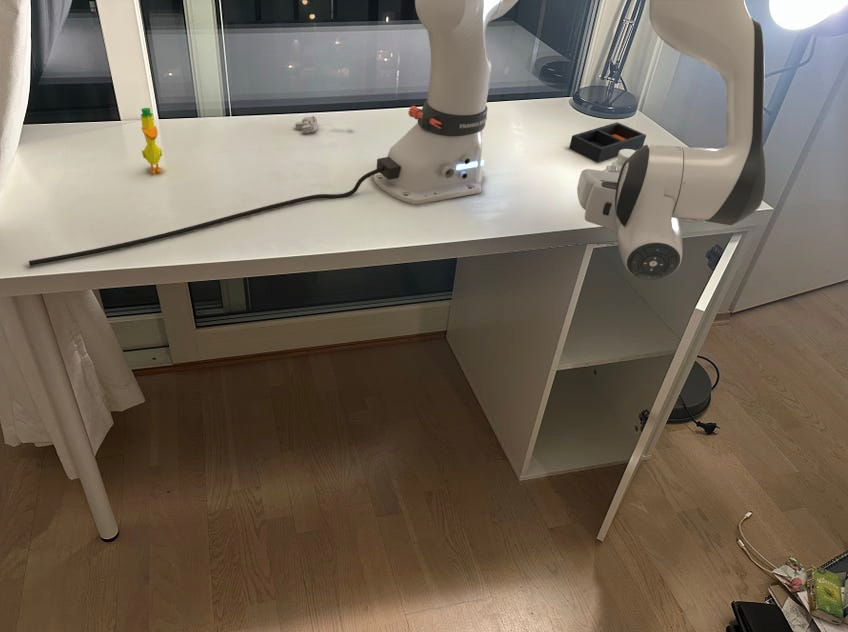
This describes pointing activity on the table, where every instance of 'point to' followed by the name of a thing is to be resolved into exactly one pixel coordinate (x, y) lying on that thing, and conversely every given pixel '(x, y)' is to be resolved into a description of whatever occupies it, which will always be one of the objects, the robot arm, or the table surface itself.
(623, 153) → the pill bottle
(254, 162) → the table surface
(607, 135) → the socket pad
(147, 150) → the toy figure
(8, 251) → the table surface
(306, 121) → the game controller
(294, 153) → the table surface
